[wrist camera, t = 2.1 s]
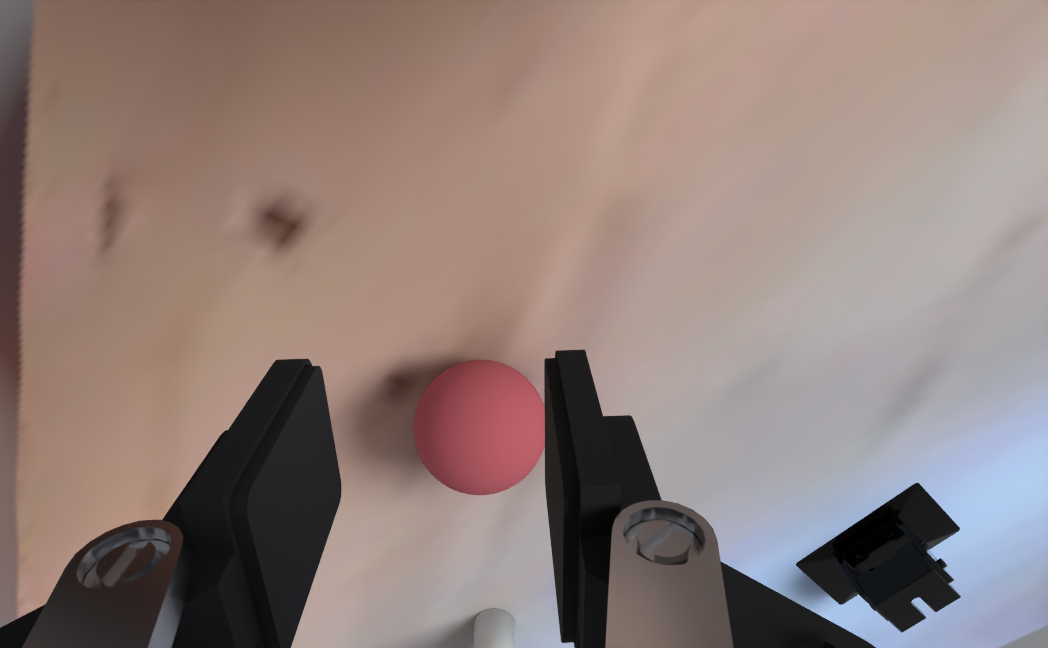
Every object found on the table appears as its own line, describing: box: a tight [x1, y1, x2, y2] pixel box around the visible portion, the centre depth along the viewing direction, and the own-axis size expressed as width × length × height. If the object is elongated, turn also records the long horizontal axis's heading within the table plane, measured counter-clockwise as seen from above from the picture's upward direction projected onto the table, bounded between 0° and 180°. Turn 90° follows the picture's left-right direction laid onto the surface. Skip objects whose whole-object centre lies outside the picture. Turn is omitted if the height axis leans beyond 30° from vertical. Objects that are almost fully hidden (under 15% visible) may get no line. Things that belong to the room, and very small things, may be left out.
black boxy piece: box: [796, 483, 961, 632], centre depth 35 cm, size 12×7×5 cm, turn 135°
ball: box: [414, 360, 545, 495], centre depth 29 cm, size 6×6×6 cm
